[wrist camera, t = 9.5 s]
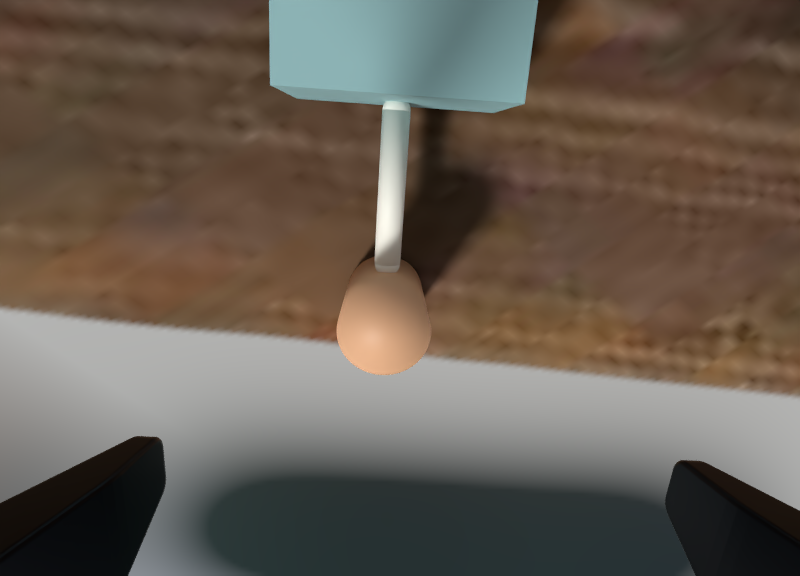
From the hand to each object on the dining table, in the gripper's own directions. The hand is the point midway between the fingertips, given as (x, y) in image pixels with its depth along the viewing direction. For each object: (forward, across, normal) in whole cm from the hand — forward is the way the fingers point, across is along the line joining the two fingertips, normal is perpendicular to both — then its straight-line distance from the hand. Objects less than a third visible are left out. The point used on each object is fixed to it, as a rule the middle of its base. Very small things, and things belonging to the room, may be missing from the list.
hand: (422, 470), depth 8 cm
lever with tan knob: (+11, +1, -4) cm, 12 cm away
